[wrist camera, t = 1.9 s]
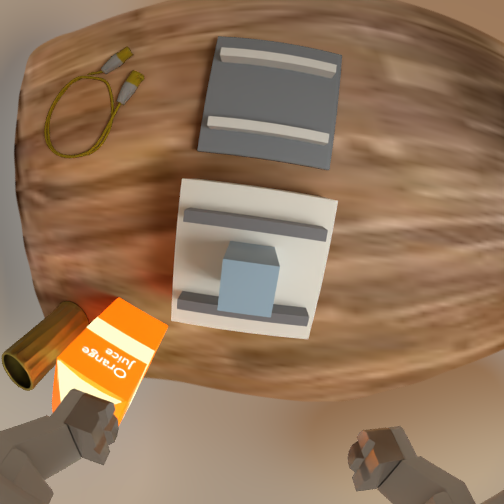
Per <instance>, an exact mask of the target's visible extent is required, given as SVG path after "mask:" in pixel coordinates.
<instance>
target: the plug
mask: <svg viewBox="0 0 504 504" xmlns="http://www.w3.org/2000/svg"><path fill="white" fill-rule="evenodd" d="M279 270H280V265H279V261H278V257H277V254H276V250H275V247H271V246H264V245H257V244H250V243H243V242H236V241H230V243H229V245H228V248H227V250H226V253H225V255H224V258H223V263H222V272H221V281H220V290H219V299H218V308H217V310H219V311H225V312H232V313H240V314H247V315H255V316H262V317H271V314H272V308H273V303H274V298H275V292H276V287H277V281H278V275H279Z"/></svg>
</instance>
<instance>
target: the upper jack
mask: <svg viewBox="0 0 504 504" xmlns="http://www.w3.org/2000/svg"><path fill="white" fill-rule="evenodd" d="M337 203H338V201H336V200H332V199H329V198H325V197H321V196H315V195H310V194H304V193H298V192H292V191H286V190H279V189H273V188H266V187H259V186H252V185H245V184H237V183H230V182H222V181H213V180H205V179H182V183H181V191H180V200H179V210H178V220H177V231H176V243H175V256H174V272H173V290H172V316H171V321H176V322H181V323H187V324H193V325H199V326H205V327H211V328H218V329H225V330H232V331H239V332H246V333H254V334H262V335H271V336H280V337H290V338H301V339H308V338H309V334H310V330H311V326H312V322H313V318H314V314H315V310H316V306H317V302H318V297H319V293H320V289H321V284H322V280H323V275H324V271H325V266H326V261H327V257H328V252H329V247H330V242H331V236H332V231H333V226H334V220H335V215H336V209H337ZM230 241H236V242H243V243H250V244H257V245H264V246H271V247H275V250H276V254H277V257H278V261H279V265H280V270H279V275H278V281H277V287H276V292H275V298H274V303H273V308H272V314H271V317H262V316H255V315H247V314H240V313H232V312H225V311H219V310H217V308H218V299H219V290H220V281H221V272H222V263H223V258H224V255H225V253H226V250H227V248H228V245H229V243H230Z"/></svg>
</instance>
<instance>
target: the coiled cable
mask: <svg viewBox="0 0 504 504" xmlns="http://www.w3.org/2000/svg"><path fill="white" fill-rule="evenodd" d="M130 51H131V50H130V49H129V48H128V47H125V48H124V49H123V50H121V51H120V52H119V53H118V52H117V53H116V54H115V55H113V56H111V58H110V59H109V60H108V61H107V62H106V63H105V64H104V66H103V67H102V68H101V69H102V71H98V72H92V73H89V74H87V75H94V74H100V73H103V72H104V73H105V74H107V73H108V72H110V71H112V70H114V69H116V68H117V67H120V65H122V64H123V63H124V62H125V61H126V60H127V59H128V58H130V57H131V56H132V55H133V54H132V53H131V52H130ZM82 78H87V79H96V80H100V81H103V82H104V83H105V84H106V85H107V87H108V90H109V94H110V100H111V118H110V120H109V122H108V124H107V126H106V128H105V130H104V132H103V133H102V135H101V137H100V138H99V140H98V141H97V143H96V144H95V145H94V146H93V147H92V148H91V149H90V150H88V151H86V152H84V153H81V154H78V155H64V154H61V153H59V152H57V151H56V150H55V149H54V148H53V146H52V144H51V141H50V133H49V124H50V118H51V114H52V111H53V109H54V107H55V105H56V103H57V102H58V100H59V99H60V98H61V96H62V95H63V94H64V92H65V91H66V90H67V89H68V87H69V86H70V85H71V84H72V83H74V82H76V81H78V80H80V79H82ZM143 80H144V75H142V74H141V73H139V72H137V71H134V70H133V71H132V72H131V74H130V75H129V77H128V78H127V80H126V81H125V83H124V84H123V86H122V88H121V91H120V93H119V96H118V99H117V100H116V101H117V102H119V103H118V105H117V107H116V109H115V111H114V101H113V95H112V91H111V87H110V85H109V83H108V82H107V81H106V80H105V79H103V78H99V77H92V76H79V77H76V78H74V79H73V80H71V81H70V82H69V83H68V84H66V86H65V87H64V88H63V89H62V90H61V91H60V93H59V94H58V95H57V97H56V98H55V100H54V102H53V104H52V105H51V108H50V110H49V112H48V115H47V118H46V122H45V128H44V136H45V140H46V143H47V145H48V147H49V149H50V150H51V151H52V152H53V153H55V154H56V155H58V156H60V157H64V158H76V157H82V156H86V155H89V154H92V153H94V152H95V151H97V150H98V149H99V148H100V147H101V146H102V144H103V143H104V142H105V140H106V138H107V136H108V134H109V132H110V129H111V126H112V122H113V118H114V116H115V114H116V112H117V111H118V109H119V107H120V105H121V104H123V105H125V103H126V102H127V101H128V99H129V98H130V97H131V96H132V95H133V93H135V91H136V89H137V88H138V86H139V84H140V83H141V81H143ZM106 131H107V133H106ZM105 133H106V135H105ZM104 135H105V137H104ZM47 137H48V139H47ZM103 137H104V139H103V140H102V138H103ZM101 140H102V142H101V143H100V141H101ZM99 143H100V144H99ZM98 144H99V145H98ZM97 145H98V146H97Z"/></svg>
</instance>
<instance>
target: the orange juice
mask: <svg viewBox="0 0 504 504" xmlns="http://www.w3.org/2000/svg"><path fill="white" fill-rule="evenodd" d="M167 328H168V325H166V324H164V323H162V322H160V321H159V320H157V319H155V318H153V317H151V316H150V315H148V314H146V313H144V312H143V311H141V310H139V309H138V308H136V307H134V306H132V305H131V304H129V303H127V302H126V301H124V300H123V299H121V298H119V297H118V298H117V299H116V300H115V301H114V302H113V303H112V304H111V305H110V306H109V307H108V308H107V309H106V310H104V311H103V312H102V313H101V314H100V315H99V316H98V317H97V318H96V319H95V320H93V321H92V322H91V323H90V324H89V325H88V326H87V328H86V329H85V330H84V331H83V332H82V333H81V334H80V335H79V336H78V337H77V338H76V339H75V340H74V341H73V342H72V343H71V344H70V345H69V346H68V347H67V348H66V349H65V350H64V351H63V352H62V353H61V354H60V355H59V356H58V358H57V360H56V368H55V376H54V386H53V398H52V409H53V412H54V411H55V410H56V408H57V407H58V406H59V404H60V403H61V402H62V400H63V399H64V398H65V396H66V395H67V394H68V392H69V391H70V390H72V389H74V388H75V389H77V390H80V391H82V392H85V393H88V394H91V395H93V396H96V397H99V398H101V399H104V400H107V401H110V402H113V403H114V406H115V412H114V415H115V416H116V417H117V419H118V426H119V424H120V422H121V420H122V418H123V416H124V414H125V412H126V410H127V409H128V407H129V406H130V404H131V401H132V399H133V397H134V395H135V393H136V391H137V389H138V387H139V385H140V383H141V381H142V379H143V377H144V375H145V373H146V371H147V370H148V367H149V365H150V363H151V361H152V359H153V357H154V355H155V353H156V351H157V348H158V346H159V344H160V342H161V340H162V338H163V336H164V334H165V332H166V330H167Z"/></svg>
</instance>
